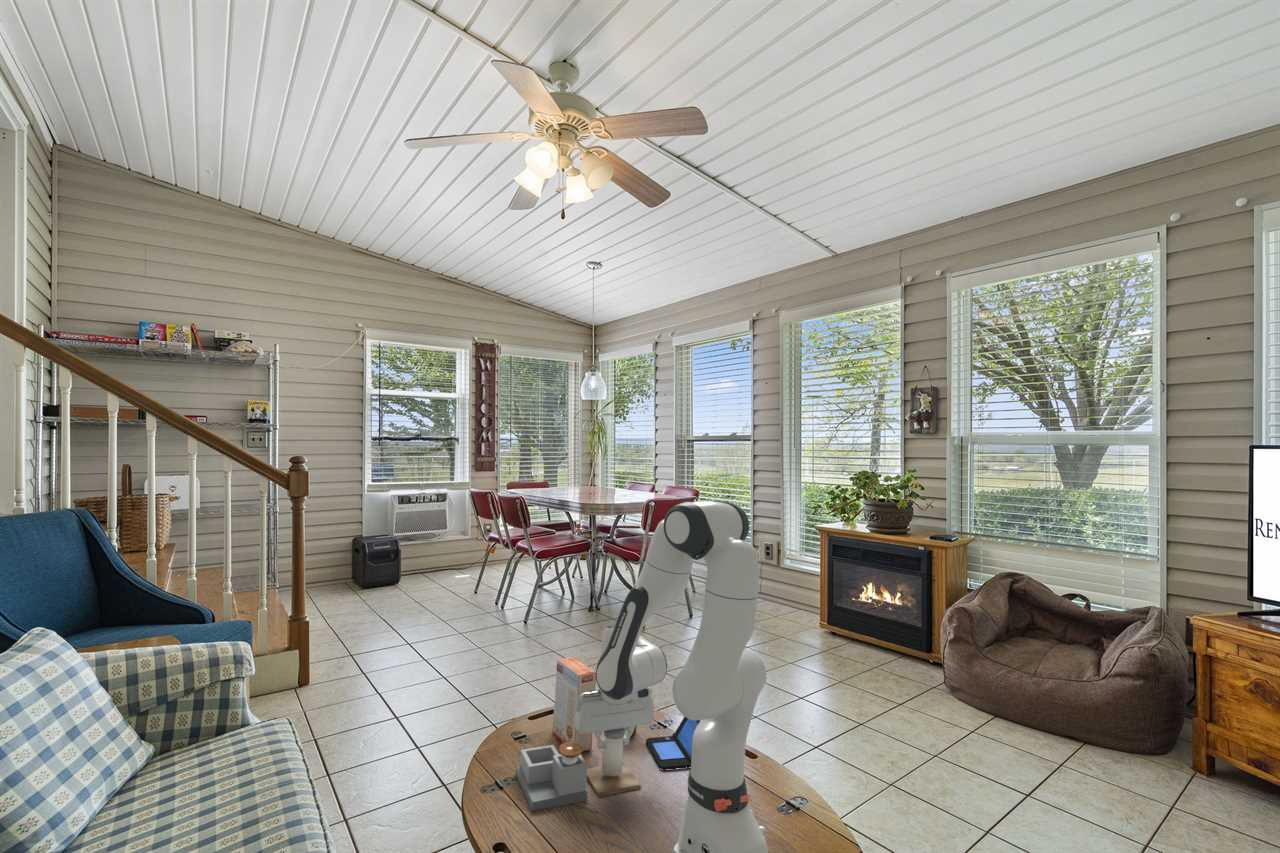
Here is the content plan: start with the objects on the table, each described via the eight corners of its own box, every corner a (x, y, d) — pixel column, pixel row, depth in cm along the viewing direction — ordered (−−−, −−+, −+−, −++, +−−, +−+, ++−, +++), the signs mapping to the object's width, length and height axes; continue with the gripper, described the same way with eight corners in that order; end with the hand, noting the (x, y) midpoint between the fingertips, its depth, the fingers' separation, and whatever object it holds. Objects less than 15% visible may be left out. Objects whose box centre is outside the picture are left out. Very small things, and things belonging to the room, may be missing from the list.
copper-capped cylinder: (583, 781, 138) (584, 750, 138) (561, 785, 136) (563, 754, 136) (575, 770, 143) (577, 740, 143) (555, 773, 141) (556, 743, 141)
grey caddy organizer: (587, 800, 138) (589, 764, 138) (532, 811, 132) (534, 774, 133) (566, 765, 152) (567, 733, 152) (515, 774, 147) (517, 741, 147)
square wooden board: (640, 787, 144) (640, 784, 144) (598, 796, 139) (598, 793, 139) (623, 765, 154) (623, 762, 154) (582, 772, 149) (583, 769, 149)
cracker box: (593, 750, 161) (597, 671, 162) (572, 755, 158) (577, 675, 159) (570, 728, 173) (575, 655, 174) (551, 732, 170) (556, 658, 171)
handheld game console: (644, 743, 167) (646, 709, 167) (689, 739, 170) (690, 707, 171) (660, 772, 152) (662, 735, 152) (709, 768, 155) (711, 732, 156)
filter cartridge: (625, 774, 145) (627, 732, 146) (606, 777, 143) (608, 735, 144) (617, 764, 150) (619, 723, 150) (598, 767, 148) (601, 726, 148)
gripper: (581, 698, 140) (577, 758, 140) (658, 688, 149) (655, 745, 148) (572, 688, 146) (569, 746, 145) (647, 679, 155) (644, 733, 154)
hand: (613, 745), depth 147 cm, fingers closed on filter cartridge, 5 cm apart
